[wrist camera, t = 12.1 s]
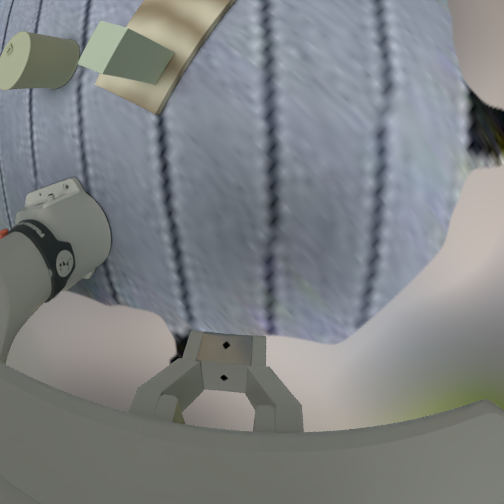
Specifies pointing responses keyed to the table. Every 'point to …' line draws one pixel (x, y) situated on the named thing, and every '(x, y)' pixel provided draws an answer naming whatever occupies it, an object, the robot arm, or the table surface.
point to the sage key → (125, 54)
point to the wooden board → (167, 45)
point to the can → (37, 61)
